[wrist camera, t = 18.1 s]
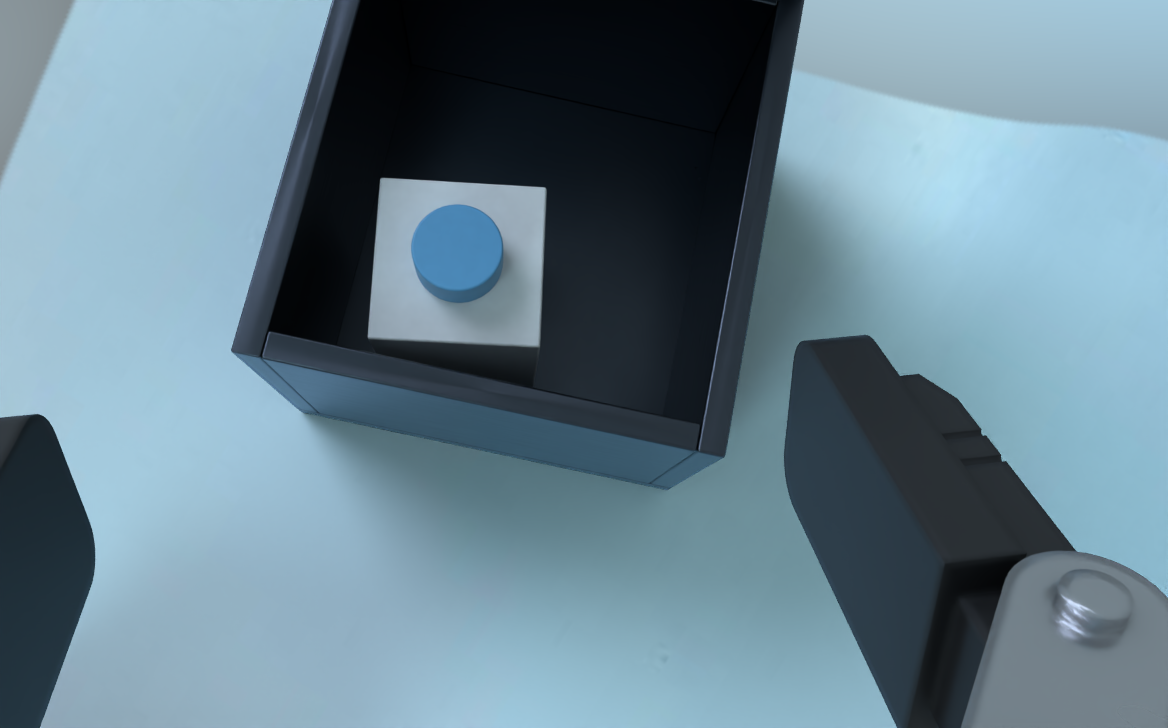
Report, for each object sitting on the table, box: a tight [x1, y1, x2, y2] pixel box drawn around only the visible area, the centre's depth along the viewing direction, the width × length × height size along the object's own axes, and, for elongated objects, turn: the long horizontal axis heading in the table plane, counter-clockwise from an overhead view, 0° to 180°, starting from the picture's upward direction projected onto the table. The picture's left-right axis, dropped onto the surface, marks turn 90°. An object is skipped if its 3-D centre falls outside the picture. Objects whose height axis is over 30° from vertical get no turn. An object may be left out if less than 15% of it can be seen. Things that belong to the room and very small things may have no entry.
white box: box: [368, 178, 547, 387], centre depth 33 cm, size 5×5×8 cm
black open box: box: [231, 0, 804, 490], centre depth 34 cm, size 15×14×10 cm
